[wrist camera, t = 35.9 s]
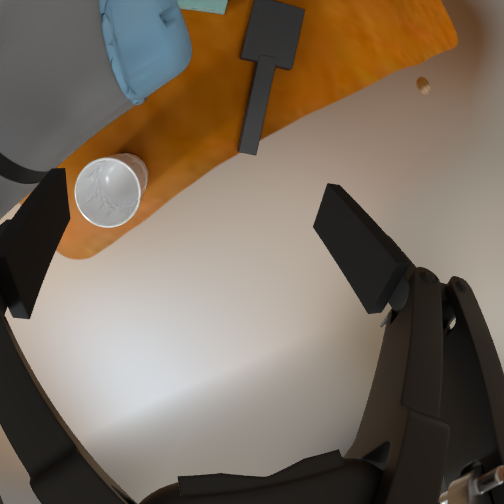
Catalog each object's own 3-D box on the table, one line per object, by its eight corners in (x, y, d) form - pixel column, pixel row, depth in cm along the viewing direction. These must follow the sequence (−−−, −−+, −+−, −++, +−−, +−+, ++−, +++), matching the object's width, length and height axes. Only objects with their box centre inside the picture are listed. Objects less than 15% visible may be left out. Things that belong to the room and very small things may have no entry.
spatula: (220, 148, 40) (221, 149, 39) (254, -1, 31) (256, -4, 30) (270, 157, 42) (272, 158, 40) (301, 12, 33) (305, 9, 32)
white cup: (164, 172, 40) (155, 188, 31) (129, 214, 41) (113, 241, 32) (122, 137, 37) (101, 142, 28) (89, 181, 38) (62, 199, 29)
